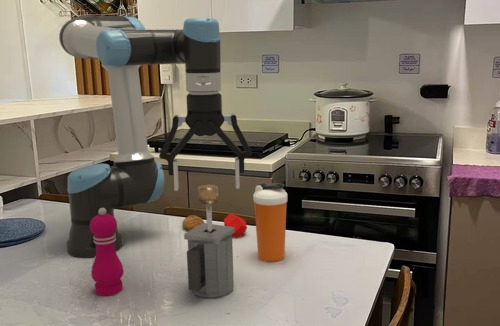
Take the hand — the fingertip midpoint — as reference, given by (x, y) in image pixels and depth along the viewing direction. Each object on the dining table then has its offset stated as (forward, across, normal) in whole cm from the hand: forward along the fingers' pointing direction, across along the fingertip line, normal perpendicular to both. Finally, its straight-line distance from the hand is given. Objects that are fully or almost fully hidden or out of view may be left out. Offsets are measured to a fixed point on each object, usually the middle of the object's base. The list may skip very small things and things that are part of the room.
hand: (207, 188), depth 117 cm
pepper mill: (+24, -24, +2) cm, 34 cm away
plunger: (+20, 0, -1) cm, 20 cm away
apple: (+25, +8, +36) cm, 44 cm away
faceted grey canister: (+24, 0, -2) cm, 24 cm away
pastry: (+25, -5, +42) cm, 50 cm away
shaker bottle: (+24, +16, +17) cm, 34 cm away
